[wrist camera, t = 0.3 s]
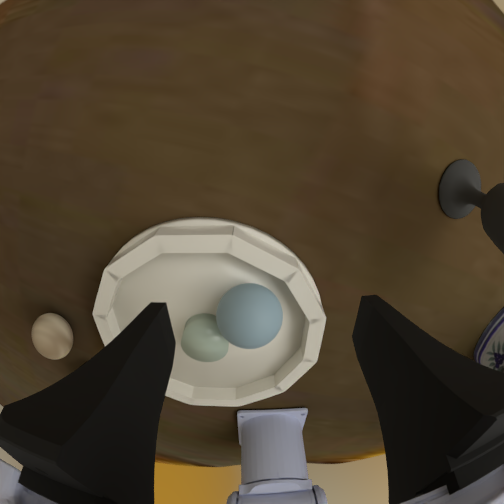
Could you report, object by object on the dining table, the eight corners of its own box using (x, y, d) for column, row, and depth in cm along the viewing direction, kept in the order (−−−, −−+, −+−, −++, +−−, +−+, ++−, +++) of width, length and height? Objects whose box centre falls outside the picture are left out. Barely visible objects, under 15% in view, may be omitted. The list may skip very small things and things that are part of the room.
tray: (305, 387, 27) (309, 407, 25) (132, 383, 27) (126, 401, 25) (335, 217, 19) (347, 232, 17) (80, 221, 19) (62, 235, 16)
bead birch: (86, 340, 24) (69, 372, 20) (54, 335, 24) (36, 364, 20) (71, 305, 22) (50, 336, 18) (38, 302, 22) (16, 330, 18)
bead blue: (277, 319, 22) (283, 361, 18) (220, 320, 22) (216, 362, 18) (281, 270, 20) (289, 310, 16) (216, 270, 20) (210, 310, 16)
